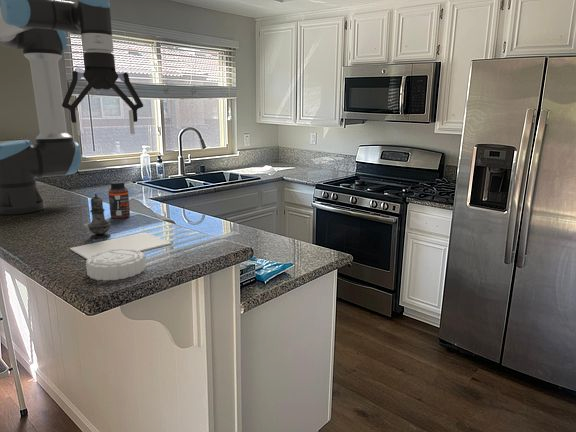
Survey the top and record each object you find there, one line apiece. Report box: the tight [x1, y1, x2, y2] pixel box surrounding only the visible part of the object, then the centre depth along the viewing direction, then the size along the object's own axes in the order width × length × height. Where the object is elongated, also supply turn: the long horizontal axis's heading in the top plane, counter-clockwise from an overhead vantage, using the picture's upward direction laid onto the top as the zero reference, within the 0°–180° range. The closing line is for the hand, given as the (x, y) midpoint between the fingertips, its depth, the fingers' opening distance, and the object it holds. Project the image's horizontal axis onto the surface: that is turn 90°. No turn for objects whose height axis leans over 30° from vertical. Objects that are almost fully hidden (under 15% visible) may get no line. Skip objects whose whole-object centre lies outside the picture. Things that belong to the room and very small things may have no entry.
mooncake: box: [85, 249, 147, 281], centre depth 96 cm, size 12×12×4 cm
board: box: [69, 231, 172, 260], centre depth 112 cm, size 14×20×1 cm
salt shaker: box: [86, 193, 112, 241], centre depth 120 cm, size 6×6×12 cm
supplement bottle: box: [108, 180, 131, 219], centre depth 142 cm, size 6×6×11 cm
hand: (106, 134), depth 121 cm, fingers open, 13 cm apart
